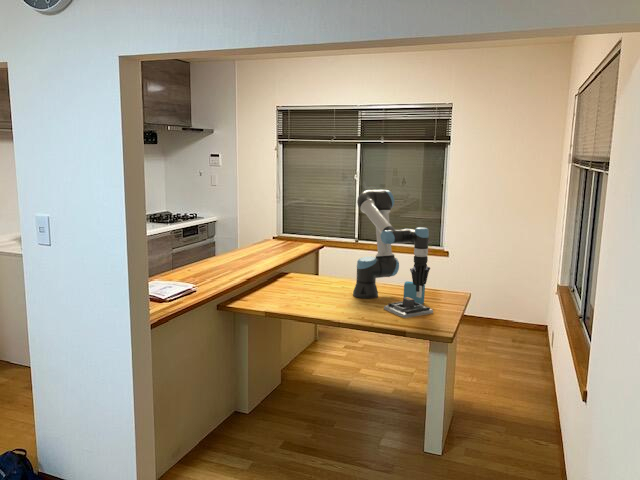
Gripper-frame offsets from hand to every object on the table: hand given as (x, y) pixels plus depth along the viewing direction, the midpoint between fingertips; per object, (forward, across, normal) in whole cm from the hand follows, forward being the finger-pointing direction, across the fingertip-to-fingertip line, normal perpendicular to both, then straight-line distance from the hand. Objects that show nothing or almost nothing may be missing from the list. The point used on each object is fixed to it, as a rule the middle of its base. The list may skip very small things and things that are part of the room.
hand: (418, 296), depth 298 cm
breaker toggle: (+5, -7, 0) cm, 9 cm away
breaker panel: (+7, -7, 0) cm, 10 cm away
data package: (+8, +7, +12) cm, 16 cm away
